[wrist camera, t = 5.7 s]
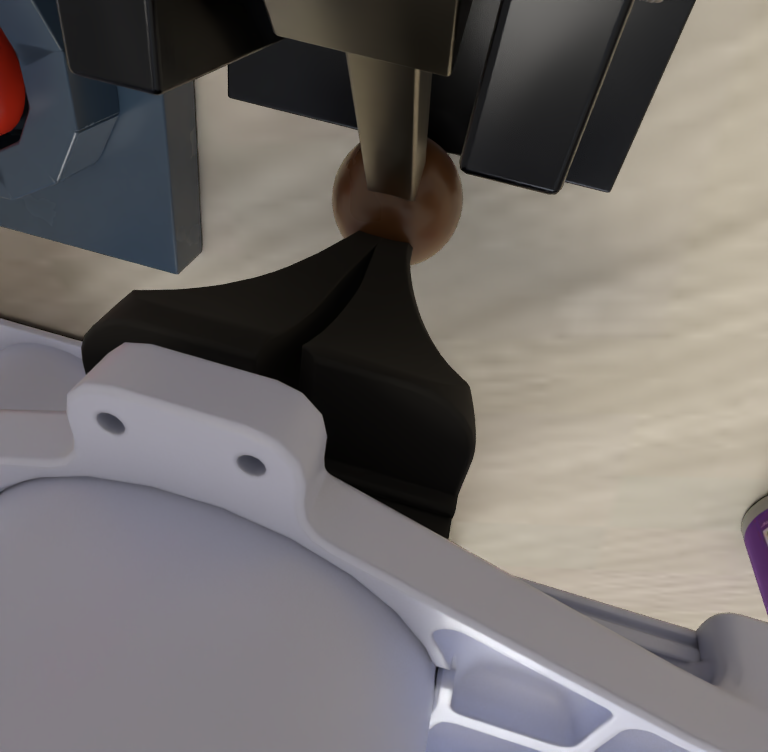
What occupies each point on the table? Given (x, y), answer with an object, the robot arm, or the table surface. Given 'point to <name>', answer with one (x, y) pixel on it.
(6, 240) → the table surface
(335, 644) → the robot arm
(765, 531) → the container
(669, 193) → the table surface
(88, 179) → the button box
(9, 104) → the button
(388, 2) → the lever
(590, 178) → the switch bracket
